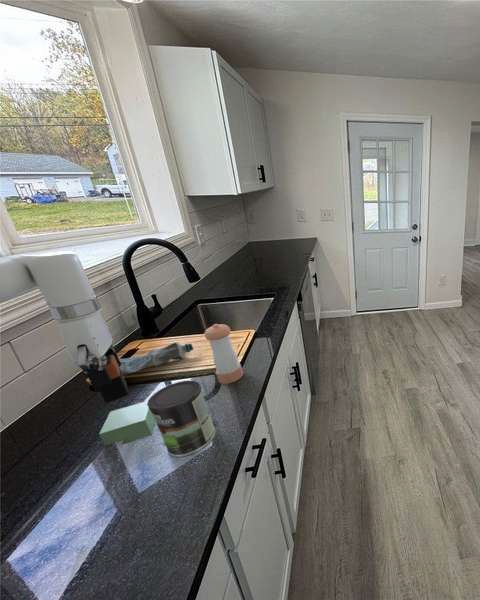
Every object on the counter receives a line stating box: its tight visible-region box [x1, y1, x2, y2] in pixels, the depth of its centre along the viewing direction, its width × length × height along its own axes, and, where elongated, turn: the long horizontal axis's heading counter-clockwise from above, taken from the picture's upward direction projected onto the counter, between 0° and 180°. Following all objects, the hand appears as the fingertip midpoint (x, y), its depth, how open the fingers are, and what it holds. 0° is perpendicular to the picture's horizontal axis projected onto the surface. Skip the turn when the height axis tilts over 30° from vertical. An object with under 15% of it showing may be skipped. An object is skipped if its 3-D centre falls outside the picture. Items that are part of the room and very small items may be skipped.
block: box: [98, 400, 156, 447], centre depth 81 cm, size 9×9×5 cm
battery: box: [90, 355, 129, 404], centre depth 75 cm, size 4×7×10 cm, turn 43°
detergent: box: [119, 341, 194, 377], centre depth 109 cm, size 13×7×25 cm
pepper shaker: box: [204, 323, 244, 385], centre depth 98 cm, size 7×7×19 cm
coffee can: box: [147, 380, 217, 458], centre depth 75 cm, size 10×10×14 cm
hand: (108, 375), depth 75 cm, fingers closed on battery, 7 cm apart
